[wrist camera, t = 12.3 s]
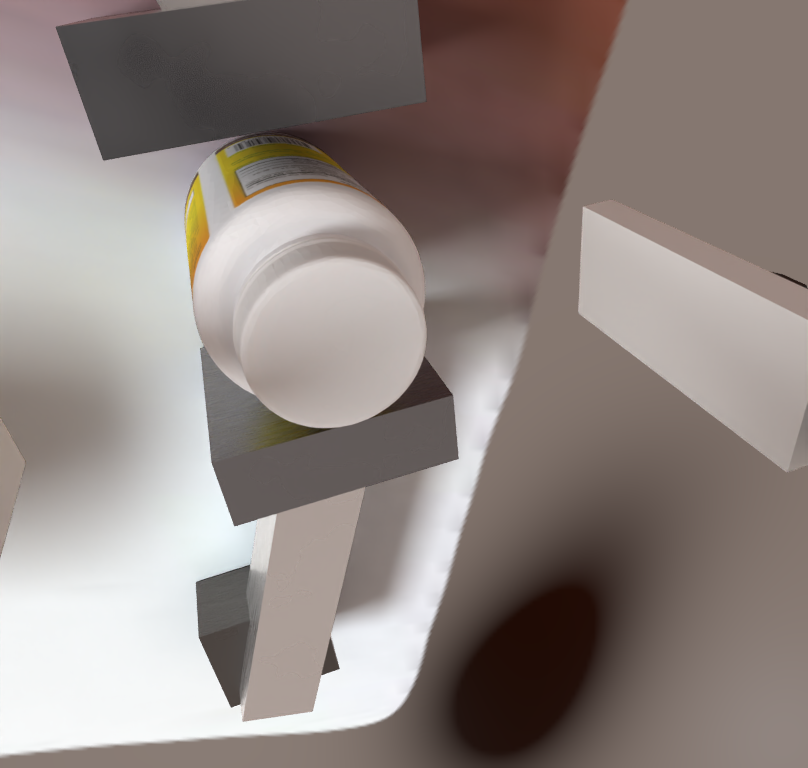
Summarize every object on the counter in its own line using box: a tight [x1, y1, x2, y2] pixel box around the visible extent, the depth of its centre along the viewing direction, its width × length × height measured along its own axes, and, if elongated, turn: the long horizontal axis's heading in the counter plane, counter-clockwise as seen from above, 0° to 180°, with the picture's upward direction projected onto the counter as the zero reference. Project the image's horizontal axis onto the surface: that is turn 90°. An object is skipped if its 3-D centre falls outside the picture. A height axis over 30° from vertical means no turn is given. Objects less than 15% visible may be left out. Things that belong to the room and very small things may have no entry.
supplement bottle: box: [185, 132, 427, 428], centre depth 17 cm, size 6×6×10 cm
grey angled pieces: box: [56, 0, 459, 722], centre depth 18 cm, size 10×40×7 cm, turn 6°
